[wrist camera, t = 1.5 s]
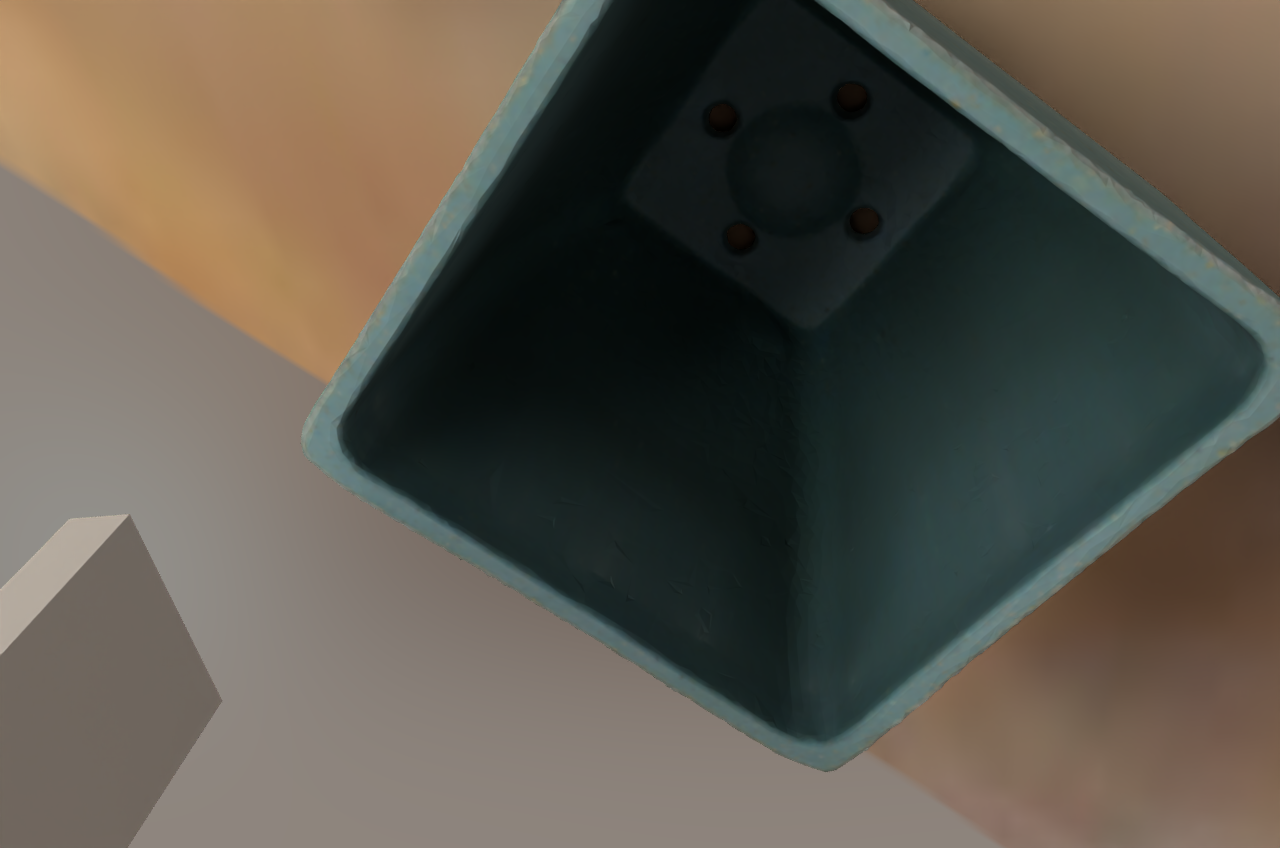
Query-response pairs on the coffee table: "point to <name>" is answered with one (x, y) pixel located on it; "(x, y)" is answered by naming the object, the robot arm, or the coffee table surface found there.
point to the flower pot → (793, 357)
